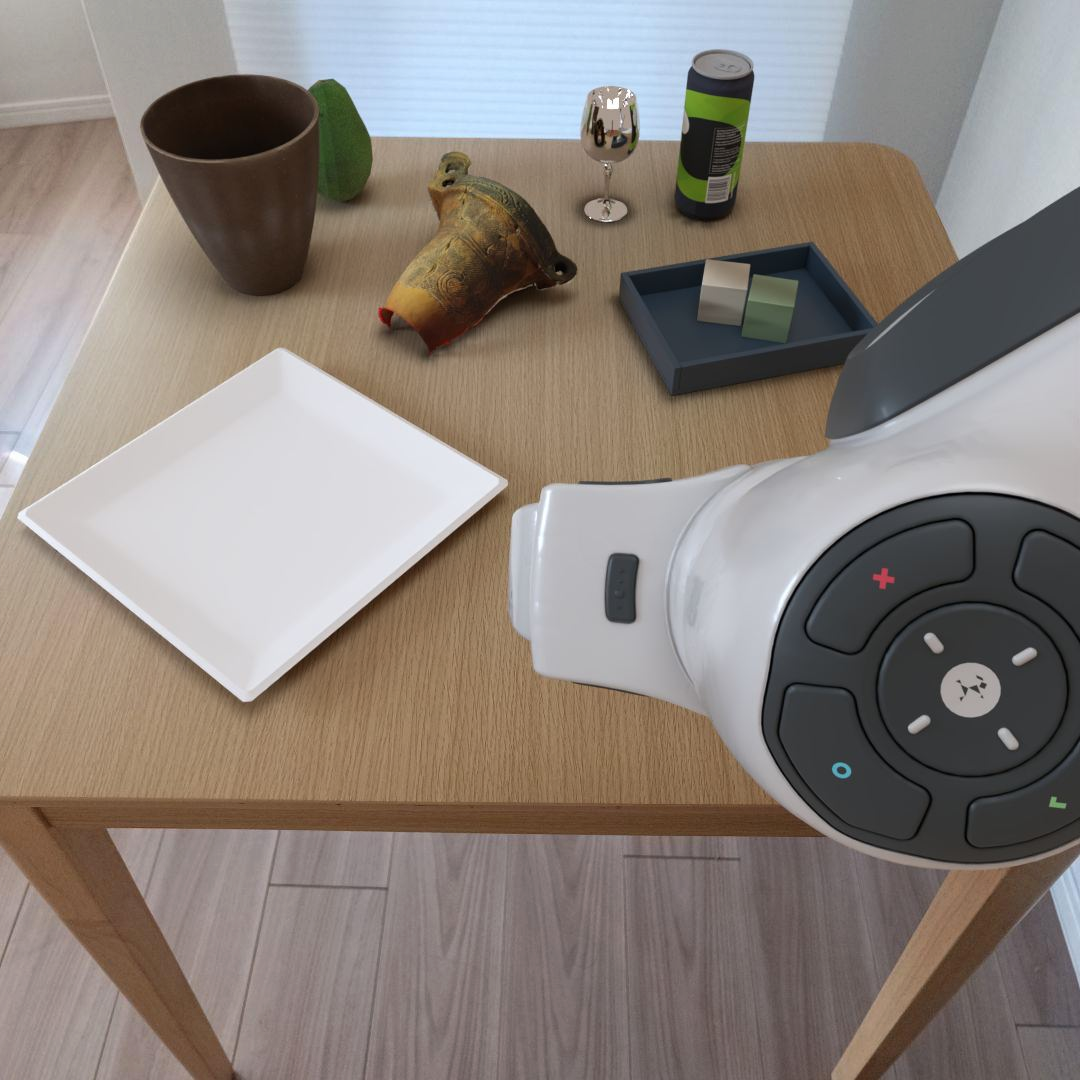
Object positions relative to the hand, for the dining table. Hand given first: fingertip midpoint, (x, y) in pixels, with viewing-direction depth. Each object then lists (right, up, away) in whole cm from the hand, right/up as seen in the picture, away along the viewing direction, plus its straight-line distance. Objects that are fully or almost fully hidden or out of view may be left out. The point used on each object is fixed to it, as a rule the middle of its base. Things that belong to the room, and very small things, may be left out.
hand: (745, 562), depth 49 cm
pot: (-15, +24, +55) cm, 62 cm away
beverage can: (+8, +35, +65) cm, 74 cm away
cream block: (+7, +25, +49) cm, 55 cm away
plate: (-30, +3, +35) cm, 46 cm away
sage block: (+11, +23, +47) cm, 54 cm away
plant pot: (-36, +26, +56) cm, 72 cm away
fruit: (-30, +37, +66) cm, 81 cm away
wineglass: (-2, +35, +64) cm, 73 cm away
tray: (+9, +20, +51) cm, 56 cm away
